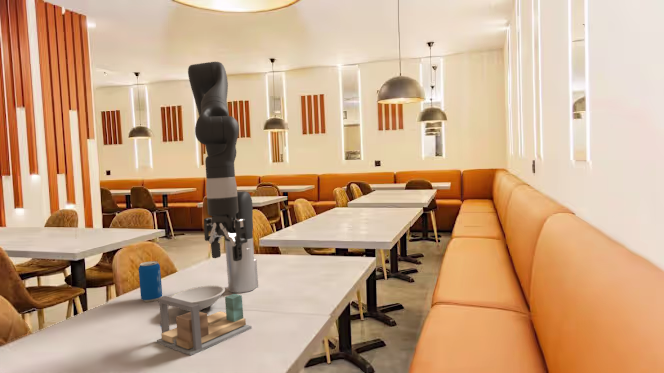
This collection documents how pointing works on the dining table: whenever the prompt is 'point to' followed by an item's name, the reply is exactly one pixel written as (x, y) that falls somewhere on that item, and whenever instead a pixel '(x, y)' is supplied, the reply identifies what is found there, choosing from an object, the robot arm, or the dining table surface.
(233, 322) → the strip
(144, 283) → the beverage can
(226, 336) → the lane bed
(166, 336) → the far strip
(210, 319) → the light wood block
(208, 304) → the dish
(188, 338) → the walnut block
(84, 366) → the dining table surface
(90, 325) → the dining table surface
